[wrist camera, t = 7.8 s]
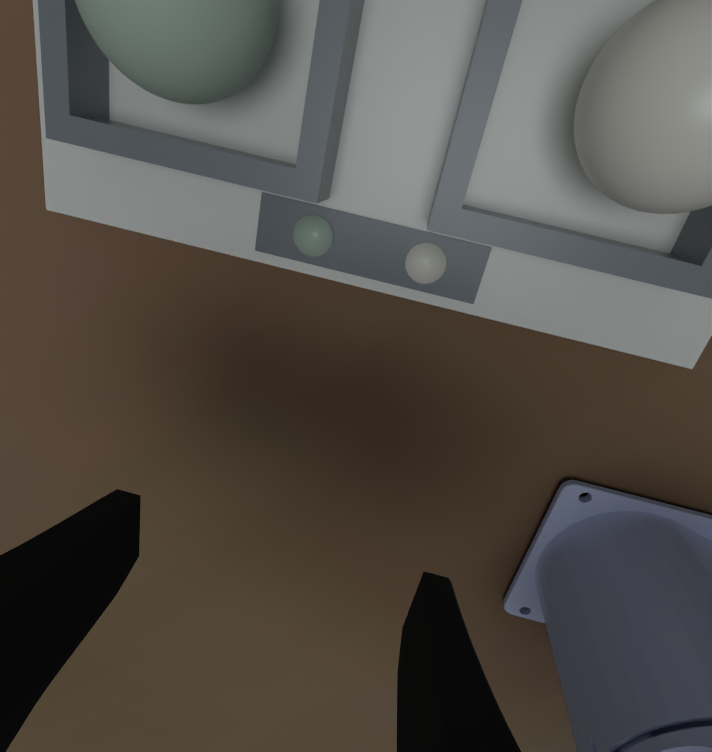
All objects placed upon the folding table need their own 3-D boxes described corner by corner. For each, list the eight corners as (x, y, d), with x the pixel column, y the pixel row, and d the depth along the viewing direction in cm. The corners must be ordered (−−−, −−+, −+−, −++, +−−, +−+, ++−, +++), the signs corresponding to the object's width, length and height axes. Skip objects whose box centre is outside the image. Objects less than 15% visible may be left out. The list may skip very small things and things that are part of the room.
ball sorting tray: (958, -151, 12) (1115, -242, 9) (678, 358, 18) (723, 394, 15) (38, -338, 13) (-67, -472, 10) (64, 207, 19) (3, 215, 16)
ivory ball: (714, 33, 14) (941, 1, 10) (633, 212, 16) (792, 249, 12) (581, -31, 12) (788, -106, 8) (509, 179, 14) (644, 209, 10)
